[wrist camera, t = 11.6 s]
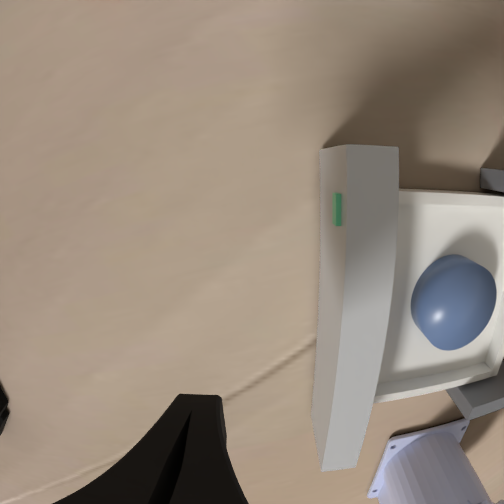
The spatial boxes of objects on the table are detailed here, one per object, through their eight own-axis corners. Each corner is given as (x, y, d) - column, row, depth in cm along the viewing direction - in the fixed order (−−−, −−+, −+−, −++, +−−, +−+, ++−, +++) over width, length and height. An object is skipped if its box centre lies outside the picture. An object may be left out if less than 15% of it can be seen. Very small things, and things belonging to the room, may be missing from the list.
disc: (469, 329, 17) (484, 344, 15) (403, 338, 18) (416, 355, 16) (485, 253, 16) (503, 263, 14) (416, 254, 16) (433, 266, 14)
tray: (478, 382, 19) (510, 422, 14) (307, 413, 20) (317, 472, 15) (519, 167, 15) (574, 174, 10) (314, 150, 15) (340, 143, 10)
